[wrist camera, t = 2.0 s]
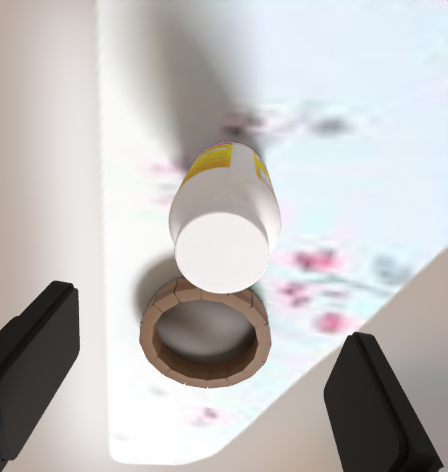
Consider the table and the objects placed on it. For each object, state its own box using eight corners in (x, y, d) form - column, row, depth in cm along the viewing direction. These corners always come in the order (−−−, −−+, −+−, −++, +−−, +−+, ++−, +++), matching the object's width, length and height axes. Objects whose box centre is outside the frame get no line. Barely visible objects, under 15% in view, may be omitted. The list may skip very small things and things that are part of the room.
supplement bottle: (179, 198, 28) (135, 281, 16) (207, 126, 25) (179, 164, 14) (248, 228, 29) (252, 326, 17) (283, 161, 26) (316, 225, 15)
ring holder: (151, 263, 31) (143, 278, 29) (281, 285, 31) (285, 302, 29) (143, 358, 37) (136, 377, 34) (253, 376, 37) (254, 396, 35)
